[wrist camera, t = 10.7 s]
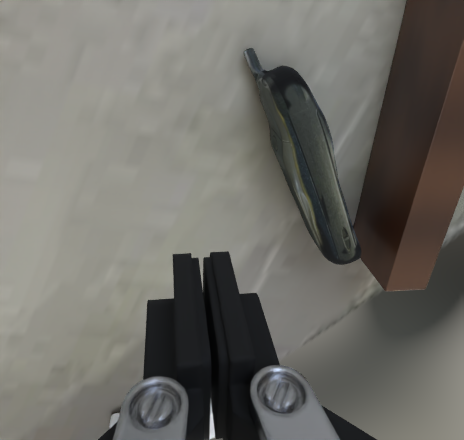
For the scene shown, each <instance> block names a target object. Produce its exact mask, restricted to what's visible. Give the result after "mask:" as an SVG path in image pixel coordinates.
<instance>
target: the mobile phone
mask: <svg viewBox="0 0 464 440" xmlns="http://www.w3.org/2000/svg"><path fill="white" fill-rule="evenodd" d="M244 56H245V58H246V61H247V63H248V65H249V67H250V70H251V72H252V74H253V76H254V78H255V80H256V83H257V85H258V88H259V95H260V100H261V103H262V105H263V108H264V110H265V113H266V115H267V118H268V121H269V126H270V139H271V144H272V147H273V150H274V152H275V155H276V157H277V159H278V162H279V164H280V166H281V169H282V171H283V174H284V176H285V179H286V181H287V184H288V186H289V188H290V191H291V193H292V195H293V197H294V199H295V202H296V204H297V206H298V209H299V211H300V213H301V216H302V218H303V220H304V222H305V225H306V227H307V229H308V231H309V233H310V235H311V237H312V238H313V240H314V242H315V243H316V245H317V247H318V248H319V250H320V251H321V253H322V254H323V255H324V257H325V258H326V259H328V260H329V261H331V262H333V263H335V264H340V265H342V264H348V263H351V262H353V261H356V260H358V259H359V258H360V257H361V247H360V244H359V242H358V239H357V237H356V234H355V232H354V229H353V226H352V223H351V220H350V217H349V213H348V210H347V207H346V203H345V200H344V197H343V194H342V191H341V188H340V185H339V181H338V177H337V169H336V163H335V157H334V148H333V142H332V138H331V134H330V130H329V127H328V124H327V122H326V119H325V117H324V115H323V113H322V111H321V109H320V108H319V106H318V104H317V102H316V100H315V99H314V97H313V95H312V93H311V91H310V89H309V87H308V85H307V84H306V82H305V81H304V80H303V78H302V77H301V76H300V75H299V73H298V72H297V71H295V70H294V69H293V68H290V67H287V66H280V67H277V68H275V69H273V70H271V71H265V70H263V68H262V67H261V65H260V63H259V60H258V58H257V56H256V53H255V51H254V49H253V48H249V49H246V50H245V51H244Z"/></svg>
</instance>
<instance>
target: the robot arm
mask: <svg viewBox="0 0 464 440" xmlns="http://www.w3.org/2000/svg"><path fill="white" fill-rule="evenodd" d="M173 275H174V299H159V300H148V303H147V320H146V339H145V358H144V376H143V380H142V381H140V382H139V383H138V384H136V385H135V386H133V387H132V388H131V390H130V391H129V392H128V393H127V394H126V397H125V399H124V401H123V403H122V407H121V411H120V414H119V418H118V421H117V422H116V423H115V424H114V425H113V426H112V427H111V428H110V429H109V430H108V431H107V432H106V433H105V434H104V435H103V436H101V437H100V438H99V439H98V440H209V436H210V402H211V405H212V413H213V422H214V431H215V437H216V439H219V438H223V440H376V439H375V438H373V437H372V436H370V435H368V434H367V433H365V432H364V431H362V430H360V429H359V428H357V427H356V426H354V425H352V424H351V423H349V422H347V421H346V420H344V419H343V418H341V417H339V416H338V415H336V414H335V413H333V412H331V411H329V410H328V409H326V408H325V407H323V406H322V405H321V404H320V402H319V400H318V398H317V397H316V395H315V393H314V391H313V389H312V388H311V386H310V384H309V382H308V381H307V380H306V378H305V377H304V376H303V375H302V374H300V373H299V372H298V371H296V370H294V369H292V368H290V367H287V366H282V365H280V364H279V361H278V358H277V355H276V351H275V348H274V345H273V342H272V338H271V335H270V332H269V329H268V326H267V322H266V319H265V316H264V313H263V310H262V306H261V303H260V300H259V297H258V295H257V294H256V293H249V294H239V290H238V286H237V282H236V278H235V274H234V270H233V266H232V262H231V258H230V254H229V252H211V253H210V257H205V258H204V260H203V290H202V283H201V275H200V267H199V260H198V258H191V253H189V254H173Z"/></svg>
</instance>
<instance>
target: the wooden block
mask: <svg viewBox="0 0 464 440" xmlns="http://www.w3.org/2000/svg"><path fill="white" fill-rule="evenodd" d="M463 187H464V0H407V3H406V7H405V12H404V16H403V20H402V24H401V29H400V33H399V37H398V41H397V46H396V50H395V54H394V58H393V63H392V67H391V71H390V75H389V80H388V84H387V88H386V92H385V97H384V101H383V105H382V109H381V114H380V118H379V122H378V126H377V131H376V135H375V139H374V143H373V148H372V152H371V156H370V160H369V165H368V169H367V173H366V177H365V182H364V186H363V190H362V194H361V199H360V203H359V207H358V211H357V216H356V220H355V224H354V228H353V229H354V232H355V234H356V237H357V239H358V242H359V244H360V247H361V257H360V258H361V260H362V261H363V262H364V264H365V265H366V266H367V268H368V269H369V270H370V272H371V273H372V274H373V276H374V277H375V278H376V280H377V281H378V282H379V283H380V285H381V286H382V287H383V289H384V290H385V291H401V290H418V289H426V286H427V284H428V281H429V278H430V276H431V273H432V270H433V268H434V265H435V262H436V260H437V257H438V254H439V251H440V249H441V246H442V243H443V241H444V238H445V235H446V233H447V230H448V227H449V225H450V222H451V219H452V217H453V214H454V211H455V208H456V206H457V203H458V200H459V198H460V195H461V192H462V190H463Z"/></svg>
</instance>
